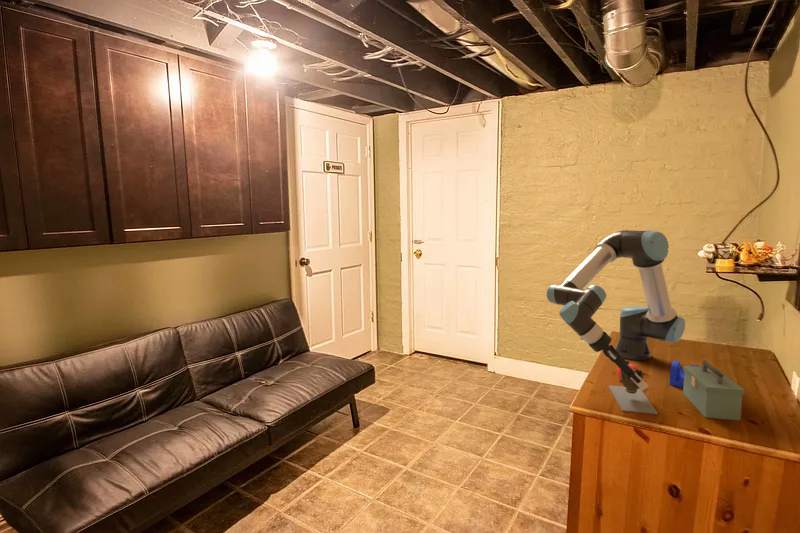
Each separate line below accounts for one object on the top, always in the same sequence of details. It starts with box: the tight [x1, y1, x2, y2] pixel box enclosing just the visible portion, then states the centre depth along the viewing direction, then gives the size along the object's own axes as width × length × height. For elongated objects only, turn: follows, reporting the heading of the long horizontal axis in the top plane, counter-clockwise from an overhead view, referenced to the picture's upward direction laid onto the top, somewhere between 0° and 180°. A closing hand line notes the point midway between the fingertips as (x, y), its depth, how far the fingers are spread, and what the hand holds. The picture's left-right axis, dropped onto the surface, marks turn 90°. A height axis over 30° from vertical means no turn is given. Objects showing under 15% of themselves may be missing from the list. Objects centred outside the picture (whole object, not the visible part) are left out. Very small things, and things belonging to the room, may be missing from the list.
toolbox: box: [682, 360, 746, 421], centre depth 153 cm, size 21×11×14 cm, turn 166°
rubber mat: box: [608, 385, 659, 415], centre depth 161 cm, size 22×11×1 cm, turn 166°
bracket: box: [669, 360, 700, 389], centre depth 176 cm, size 18×8×9 cm, turn 136°
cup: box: [621, 368, 645, 394], centre depth 160 cm, size 8×7×8 cm
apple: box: [616, 363, 640, 382], centre depth 178 cm, size 8×8×8 cm
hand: (642, 383), depth 159 cm, fingers closed on cup, 7 cm apart
